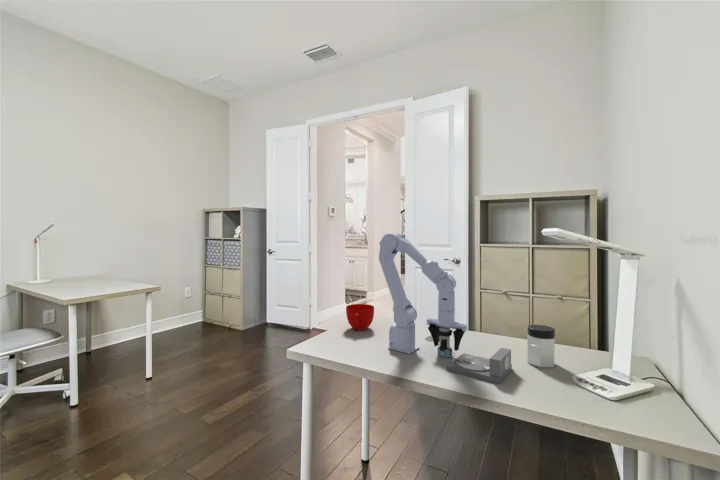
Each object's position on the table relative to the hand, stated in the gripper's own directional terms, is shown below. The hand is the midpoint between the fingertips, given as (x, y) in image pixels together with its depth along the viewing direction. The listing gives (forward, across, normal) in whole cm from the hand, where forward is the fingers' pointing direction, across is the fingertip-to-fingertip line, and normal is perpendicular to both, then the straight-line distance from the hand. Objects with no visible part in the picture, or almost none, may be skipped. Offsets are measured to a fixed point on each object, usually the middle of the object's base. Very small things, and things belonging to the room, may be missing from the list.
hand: (446, 347), depth 120 cm
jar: (+3, -28, -13) cm, 31 cm away
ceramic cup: (+3, +45, -7) cm, 45 cm away
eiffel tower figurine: (+4, +10, -17) cm, 20 cm away
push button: (+3, 0, 0) cm, 3 cm away
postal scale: (+3, -14, +5) cm, 15 cm away
